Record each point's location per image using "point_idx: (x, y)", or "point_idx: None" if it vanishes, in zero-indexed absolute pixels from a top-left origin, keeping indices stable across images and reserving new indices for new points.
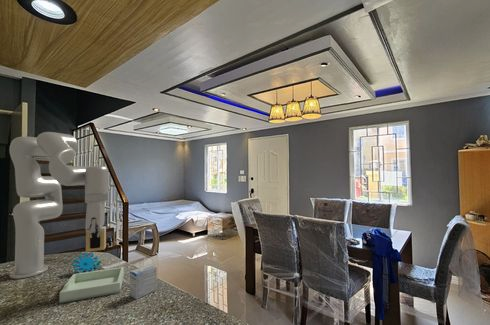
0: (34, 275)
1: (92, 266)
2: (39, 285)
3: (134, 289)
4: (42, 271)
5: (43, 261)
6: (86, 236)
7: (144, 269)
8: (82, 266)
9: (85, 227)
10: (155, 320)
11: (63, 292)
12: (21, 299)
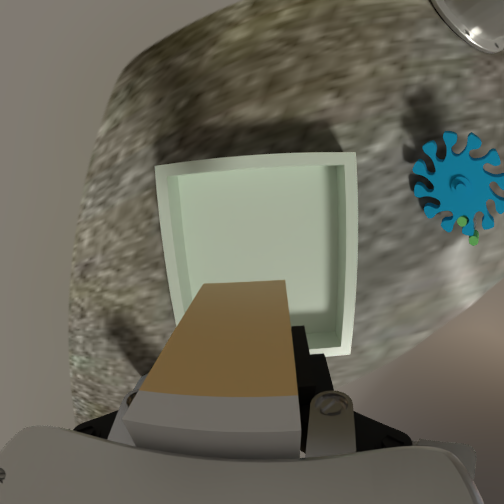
0: (445, 21)
1: (446, 209)
2: (361, 43)
3: (138, 387)
4: (465, 38)
5: (498, 33)
6: (160, 361)
7: None
8: (443, 171)
9: (13, 438)
10: (71, 390)
11: (157, 178)
12: (251, 30)
